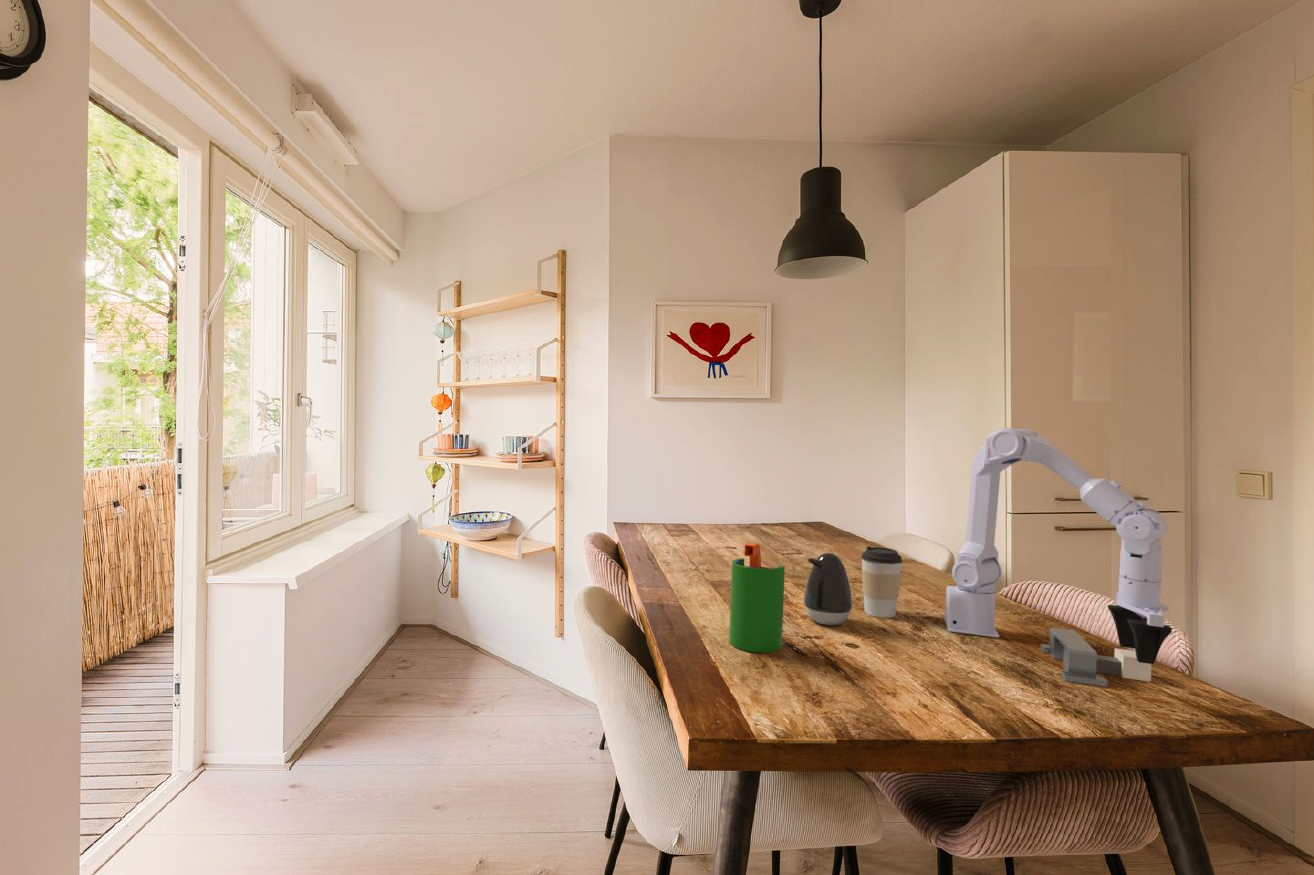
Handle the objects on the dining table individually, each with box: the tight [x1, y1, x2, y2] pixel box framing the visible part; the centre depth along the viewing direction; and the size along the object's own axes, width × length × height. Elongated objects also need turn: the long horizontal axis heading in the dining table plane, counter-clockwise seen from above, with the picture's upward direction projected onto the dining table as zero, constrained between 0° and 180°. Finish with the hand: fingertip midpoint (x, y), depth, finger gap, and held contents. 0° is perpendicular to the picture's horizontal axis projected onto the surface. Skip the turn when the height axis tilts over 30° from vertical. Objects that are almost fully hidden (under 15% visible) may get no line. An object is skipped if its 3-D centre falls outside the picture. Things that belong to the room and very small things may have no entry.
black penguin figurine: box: [803, 552, 853, 627], centre depth 129 cm, size 10×10×15 cm
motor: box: [729, 542, 786, 654], centre depth 114 cm, size 10×9×20 cm
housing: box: [1040, 627, 1108, 688], centre depth 107 cm, size 6×16×5 cm, turn 160°
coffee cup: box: [860, 545, 903, 619], centre depth 136 cm, size 9×9×15 cm
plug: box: [1096, 647, 1153, 683], centre depth 105 cm, size 8×4×4 cm, turn 70°
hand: (1136, 654), depth 104 cm, fingers open, 7 cm apart
